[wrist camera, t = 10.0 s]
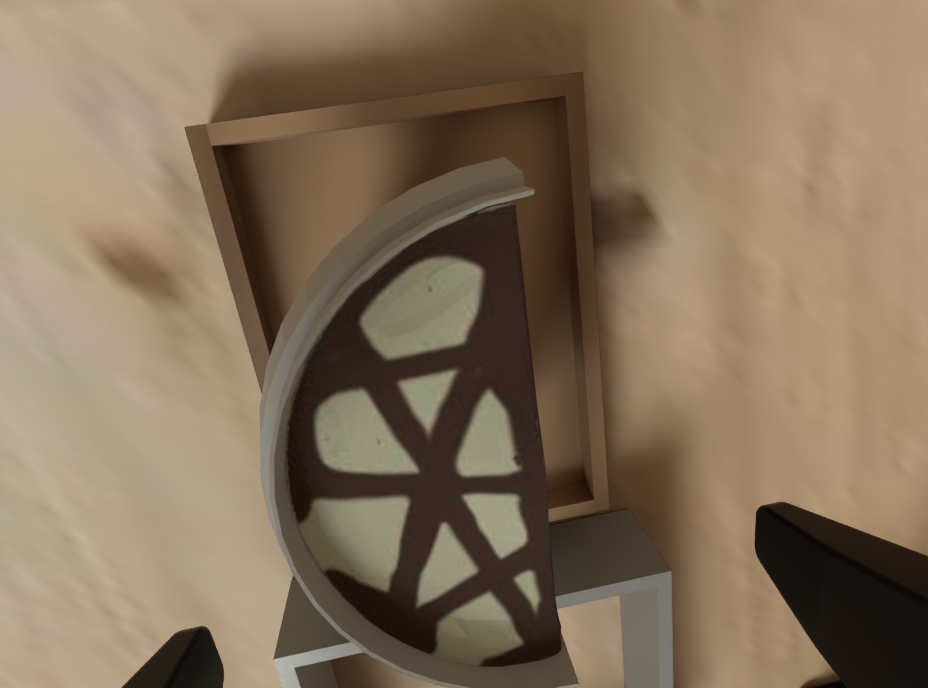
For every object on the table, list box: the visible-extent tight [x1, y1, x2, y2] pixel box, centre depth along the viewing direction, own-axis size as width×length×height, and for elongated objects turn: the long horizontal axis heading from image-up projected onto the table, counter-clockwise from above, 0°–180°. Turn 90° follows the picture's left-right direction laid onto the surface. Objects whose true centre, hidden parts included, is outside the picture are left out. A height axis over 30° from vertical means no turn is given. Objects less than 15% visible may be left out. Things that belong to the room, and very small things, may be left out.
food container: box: [260, 157, 579, 688], centre depth 15 cm, size 12×6×10 cm, turn 8°
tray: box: [184, 72, 609, 522], centre depth 20 cm, size 12×16×2 cm
